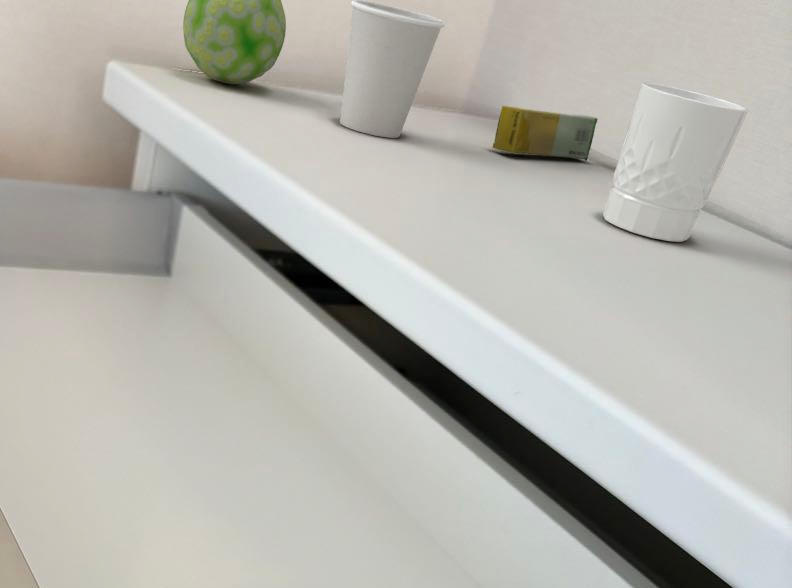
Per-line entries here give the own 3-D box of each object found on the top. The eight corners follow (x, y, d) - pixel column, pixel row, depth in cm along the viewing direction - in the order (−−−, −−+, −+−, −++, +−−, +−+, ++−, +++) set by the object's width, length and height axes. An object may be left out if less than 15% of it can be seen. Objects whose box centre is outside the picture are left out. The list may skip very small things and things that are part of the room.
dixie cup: (308, 118, 99) (334, -3, 94) (352, 114, 105) (378, 1, 100) (389, 144, 96) (420, 20, 90) (428, 139, 102) (460, 23, 97)
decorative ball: (292, 100, 105) (315, -14, 100) (198, 88, 101) (218, -32, 96) (247, 77, 112) (267, -31, 107) (158, 64, 108) (175, -49, 103)
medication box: (566, 155, 111) (578, 113, 109) (588, 160, 109) (600, 118, 107) (490, 148, 103) (501, 103, 102) (512, 153, 102) (523, 107, 100)
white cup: (671, 223, 90) (721, 97, 85) (710, 252, 84) (767, 116, 79) (581, 206, 89) (627, 76, 84) (614, 233, 82) (666, 94, 77)
